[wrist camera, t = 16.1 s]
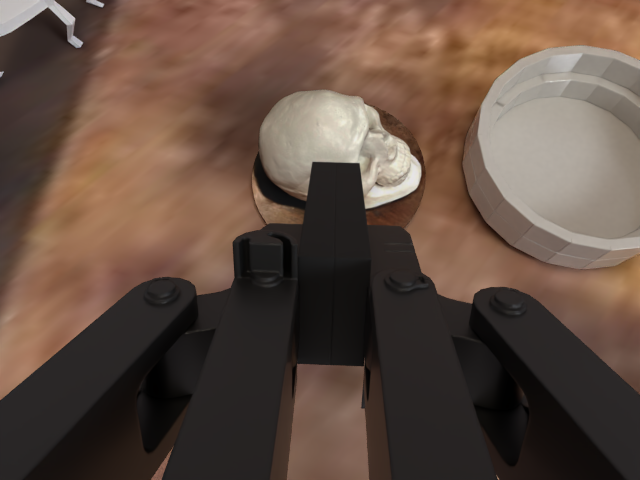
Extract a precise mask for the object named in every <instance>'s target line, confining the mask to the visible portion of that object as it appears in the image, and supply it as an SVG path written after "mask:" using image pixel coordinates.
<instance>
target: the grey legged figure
mask: <svg viewBox="0 0 640 480" xmlns="http://www.w3.org/2000/svg"><path fill="white" fill-rule="evenodd" d="M86 2H87V3H90V4H93V5H96V6H99V7H103V6H104V4H103V3H100V2H98V1H96V0H86ZM47 7H49V8H50V9H51V10H52V11H53V12H54V13H55V14H56V15H57V16H58V17H59V18H60V19H61V20H62V21H63V22H64V23H65V24H66V25H67V36H68V42H70V43H71V44H72V45H73V46H75V47H76V48H80V47H81V46H82V44H83V42H82V41H80V40H79V39H77V38H76V37H75V36H73V32H74V25H75V18H74V17H73V16H72V15H71V14H70V13H69V12H67V11H66V10H65V9H64V8H63V7H62V6H60V5H59V4H58V3H57V2H55V1H54V0H0V37H1V36H3V35H5V34H8V33H10V32H12V31H13V30H15V29H17V28H18V27H20V26H21V25H23V24H24V23H26V22H27V21H29V20H30V19H32V18H33V17H34V16H36V15H37V14H39V13H40V12H42V11H43V10H44V9H46V8H47ZM2 74H3V72H0V77H1V76H2Z"/></svg>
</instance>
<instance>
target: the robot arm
mask: <svg viewBox="0 0 640 480" xmlns="http://www.w3.org/2000/svg"><path fill="white" fill-rule="evenodd" d="M233 258H234V276H235V278H234V281H233V283H232V286H231V288H229V289H227V290H224V291H221V292H216V293H211V294H204V295H197V294H196V289H195V286H194V285H193V284H192V283H191V282H189V281H187V280H184V279H181V278H171V277H162V278H161V277H160V278H155V279H152V280H150V281H147V282H144V283H141V284H140V285H138V286H136V287H135V288H133V289H132V290H131V291H130V292H128V293H127V294H126V295H125V296H124V297H122V298H121V299H120V300H119V301H118V302H116V303H115V304H114V305H113V306H112V307H111V308H109V309H108V310H107V311H106V312H105V313H103V314H102V315H101V316H100V317H99V318H98V319H96V320H95V321H94V322H93V323H92V324H90V325H89V326H88V327H87V328H86V329H85V330H83V331H82V332H81V333H80V334H79V335H77V336H76V337H75V338H74V339H73V340H71V341H70V342H69V343H68V344H67V345H66V346H64V347H63V348H62V349H61V350H60V351H58V352H57V353H56V354H55V355H54V356H53V357H51V358H50V359H49V360H48V361H47V362H45V363H44V364H43V365H42V366H41V367H40V368H38V369H37V370H36V371H35V372H34V373H32V374H31V375H30V376H29V377H28V378H26V379H25V380H24V381H23V382H22V383H21V384H19V385H18V386H17V387H16V388H15V389H13V390H12V391H11V392H10V393H9V394H8V395H6V396H5V397H4V398H3V399H2V400H0V480H151V478H152V477H153V475H154V474H155V472H156V471H157V469H158V468H159V467H160V465H161V464H162V462H163V461H164V459H165V458H166V456H167V455H168V453H169V452H170V450H171V449H172V447H173V446H174V447H173V450H172V452H171V455H170V458H169V461H168V463H167V466H166V469H165V472H164V475H163V477H162V480H287V470H288V461H289V451H290V442H291V432H292V422H293V413H294V403H295V393H296V384H297V364H319V365H345V366H364V356H365V367H364V380H363V394H362V407H361V408H365V415H366V432H367V448H368V465H369V480H498V479H497V476H498V478H499V480H640V395H639V394H638V393H637V392H636V391H635V390H634V389H633V388H632V387H631V386H630V385H629V384H627V383H626V382H625V381H624V380H623V379H622V378H621V377H620V376H619V375H618V374H617V373H616V372H614V371H613V370H612V369H611V368H610V367H609V366H608V365H607V364H606V363H605V362H604V361H602V360H601V359H600V358H599V357H598V356H597V355H596V354H595V353H594V352H593V351H592V350H591V349H589V348H588V347H587V346H586V345H585V344H584V343H583V342H582V341H581V340H580V339H579V338H577V337H576V336H575V335H574V334H573V333H572V332H571V331H570V330H569V329H568V328H567V327H566V326H564V325H563V324H562V323H561V322H560V321H559V320H558V319H557V318H556V317H555V316H554V315H553V314H551V313H550V312H549V311H548V310H547V309H546V308H545V307H544V306H543V305H542V304H541V303H539V302H538V301H537V300H536V299H534V298H533V297H531V296H530V295H528V294H525V293H523V292H520V291H518V290H516V289H512V288H510V289H509V288H507V287H490V288H486V289H481V290H480V291H478V292H477V293H475V295H474V299H473V303H472V304H470V303H466V302H461V301H456V300H453V299H449V298H446V297H443V296H441V295H439V294H437V291H436V288H435V285H434V283H433V282H432V280H431V279H430V278H429V277H427V276H426V275H424V274H423V273H421V269H420V266H419V263H418V259H417V256H416V253H415V249H414V246H413V243H412V239H411V236H410V234H409V233H408V232H407V231H405V230H404V229H403V228H402V227H401V226H387V225H367V218H366V210H365V202H364V194H363V186H362V178H361V170H360V163H342V162H312V168H311V174H310V180H309V187H308V193H307V200H306V206H305V213H304V219H303V224H285V223H269V224H268V225H266V226H265V227H264V228H262V229H261V230H256V231H252V232H247V233H244V234H242V235H240V236H238V237H237V238H236V239H235V240H234V241H233ZM496 475H497V476H496Z"/></svg>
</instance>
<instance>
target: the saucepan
mask: <svg viewBox="0 0 640 480" xmlns="http://www.w3.org/2000/svg"><path fill="white" fill-rule="evenodd" d="M462 163H463V169H464V174H465V178H466V183H467V187H468V192H469V195H470V197H471V198H472V200H473V202H474V203H475V205H476V207H477V208H478V210H479V212H480V213H481V215H482V217H483V218H484V220H485V221H486V223H487V224H488V225H489V226H491V227H492V228H493V229H494V230H495V231H496V232H497V233H498V234H499V235H500V236H501V237H502V238H504V239H505V240H506V241H507V242H508V243H509V244H510V245H512V246H513V247H515V248H517V249H519V250H521V251H523V252H525V253H527V254H529V255H531V256H533V257H535V258H537V259H539V260H541V261H543V262H545V263H550V264H555V265H560V266H565V267H571V268H576V269H591V268H601V267H610V266H616V265H618V264H620V263H623V262H625V261H627V260H629V259H631V258H633V257H636V256H638V255H640V60H638V59H635V58H633V57H630V56H628V55H626V54H623V53H621V52H618V51H615V50H609V49H603V48H597V47H590V46H584V45H577V46H566V47H555V48H547V49H545V50H542V51H540V52H537V53H534V54H532V55H529V56H527V57H524V58H522V59H519V60H518V61H517V62H515V63H514V64H513V65H512V66H511V67H510V68H508V69H507V70H506V71H505V72H504V73H502V74H501V75H500V76H499V77H498V78H496V80H495V81H494V83H493V84H492V86H491V88H490V90H489V92H488V93H487V95H486V97H485V99H484V101H483V102H482V104H481V106H480V108H479V110H478V112H477V114H476V117H475V119H474V121H473V123H472V125H471V127H470V129H469V131H468V133H467V135H466V141H465V148H464V155H463V162H462Z"/></svg>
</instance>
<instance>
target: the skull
mask: <svg viewBox="0 0 640 480" xmlns="http://www.w3.org/2000/svg"><path fill="white" fill-rule="evenodd" d="M259 133H260V134H259V143H258V147H259V152H258V154H257V157H256V159H255V162H254V167H253V173H252V188H253V194H254V199H255V202H256V205H257V207H258V210H259V212H260V214H261V215H262V217H263V219H264V220H265V222H266V223H267V224H269V223H285V224H303V219H304V213H305V206H306V200H307V193H308V187H309V180H310V174H311V168H312V162H342V163H360V170H361V178H362V186H363V194H364V202H365V210H366V218H367V225H387V226H401V227H402V228H404V227H405V226H406V225H407V224H408V222H409V221H410V220H411V219H412V217H413V215H414V214H415V212H416V210H417V209H418V207H419V204H420V202H421V199H422V196H423V192H424V187H425V166H424V160H423V156H422V153H421V150H420V148H419V146H418V144H417V142H416V140H415V138H414V137H413V136H412V134H411V133H410V131H409V130H407V128H406V127H405V126H404V125H403V124H402V123H401V122H400V121H399V120H397V119H396V118H394V117H393V116H392V115H390V114H389V113H386V111H384V110H381V109H379V108H377V107H375V106H372V105H368V104H365V103H364V101H363V99H362V98H361V97H359V96H347V95H343V94H340V93H337V92H334V91H330V90H314V91H300V92H296V93H294V94H291V95H289V96H286V97H285V98H283V99H282V100H280V101H279V102H278V103H277V104H276V105H275V106H274V107H273V108H272V109H271V111H270V113H269V114H268V115H267V116H266V117H265V119H264V121H263V123H262V125H261V127H260V132H259Z"/></svg>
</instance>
